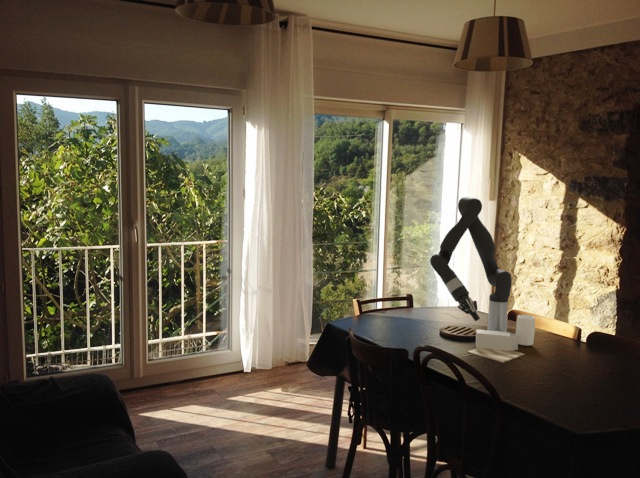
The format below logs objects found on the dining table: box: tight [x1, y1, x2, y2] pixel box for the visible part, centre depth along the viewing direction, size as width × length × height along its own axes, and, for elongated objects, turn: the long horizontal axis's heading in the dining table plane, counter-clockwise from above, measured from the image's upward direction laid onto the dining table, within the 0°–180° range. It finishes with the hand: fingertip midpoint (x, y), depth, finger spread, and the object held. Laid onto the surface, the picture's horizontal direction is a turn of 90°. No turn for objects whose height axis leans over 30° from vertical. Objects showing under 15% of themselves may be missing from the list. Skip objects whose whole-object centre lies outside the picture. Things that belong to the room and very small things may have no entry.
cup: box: [515, 314, 536, 346], centre depth 270 cm, size 8×8×14 cm
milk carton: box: [475, 329, 519, 351], centre depth 263 cm, size 7×7×19 cm
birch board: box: [467, 347, 525, 364], centre depth 256 cm, size 18×18×1 cm
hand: (477, 319), depth 261 cm, fingers closed
